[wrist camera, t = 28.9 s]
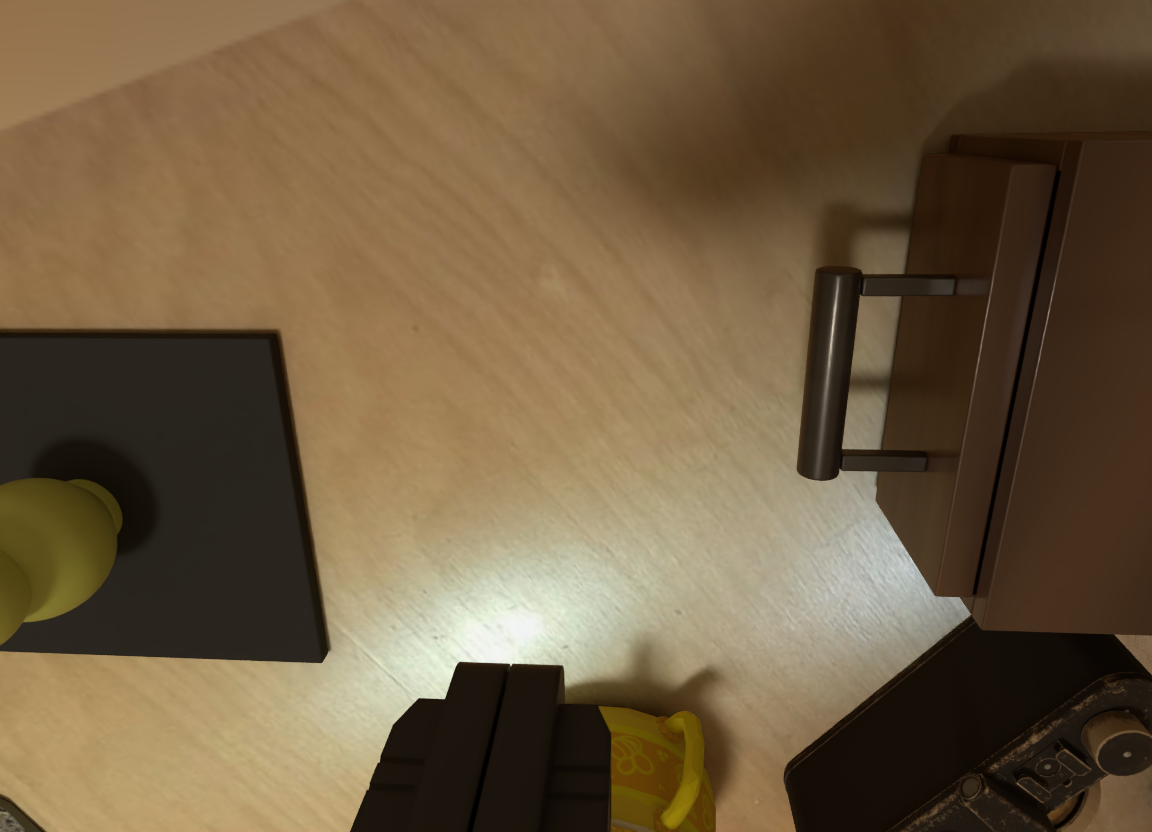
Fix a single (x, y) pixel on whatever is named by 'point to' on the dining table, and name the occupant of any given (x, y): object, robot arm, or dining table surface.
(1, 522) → the pear
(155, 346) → the mat
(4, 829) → the tree stump
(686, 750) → the mug
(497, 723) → the robot arm
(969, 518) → the drawer
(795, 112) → the dining table surface
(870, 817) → the camera
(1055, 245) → the cabinet
